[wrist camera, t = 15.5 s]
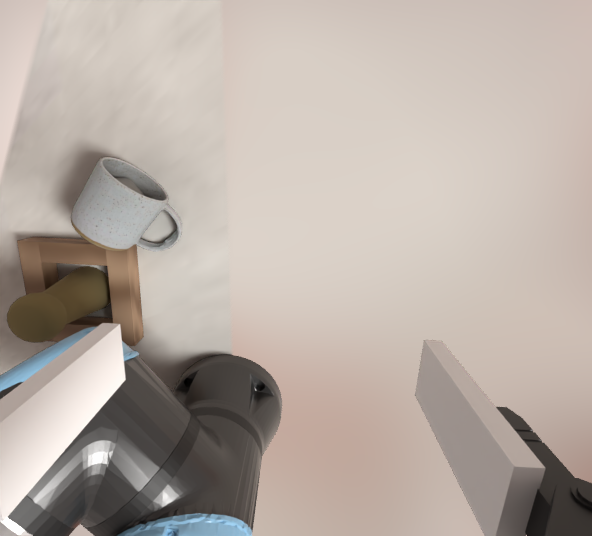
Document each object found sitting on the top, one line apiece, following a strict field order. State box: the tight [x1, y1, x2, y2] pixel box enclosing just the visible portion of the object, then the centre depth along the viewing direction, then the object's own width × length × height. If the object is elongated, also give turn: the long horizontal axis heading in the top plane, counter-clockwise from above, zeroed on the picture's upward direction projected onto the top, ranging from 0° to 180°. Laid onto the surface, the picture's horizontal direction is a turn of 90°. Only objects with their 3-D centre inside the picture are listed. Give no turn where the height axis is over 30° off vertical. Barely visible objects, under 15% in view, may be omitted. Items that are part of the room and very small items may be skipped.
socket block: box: [17, 237, 144, 346], centre depth 44 cm, size 13×13×2 cm
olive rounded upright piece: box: [7, 266, 111, 342], centre depth 40 cm, size 6×6×11 cm
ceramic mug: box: [71, 157, 182, 251], centre depth 39 cm, size 11×8×8 cm
